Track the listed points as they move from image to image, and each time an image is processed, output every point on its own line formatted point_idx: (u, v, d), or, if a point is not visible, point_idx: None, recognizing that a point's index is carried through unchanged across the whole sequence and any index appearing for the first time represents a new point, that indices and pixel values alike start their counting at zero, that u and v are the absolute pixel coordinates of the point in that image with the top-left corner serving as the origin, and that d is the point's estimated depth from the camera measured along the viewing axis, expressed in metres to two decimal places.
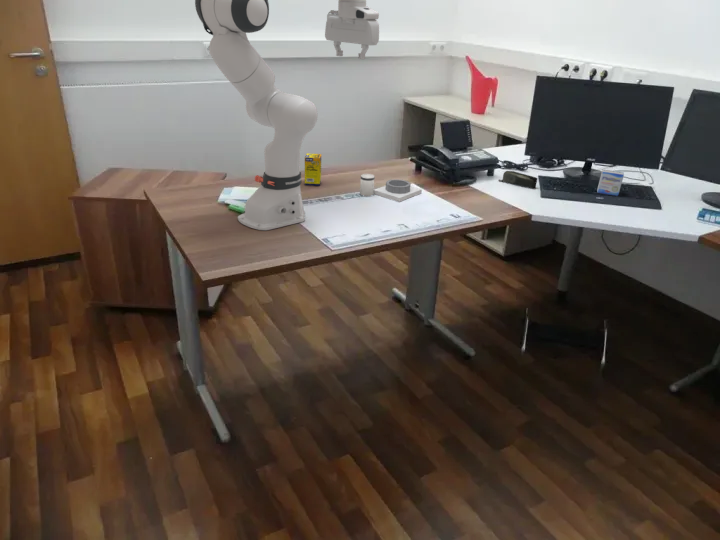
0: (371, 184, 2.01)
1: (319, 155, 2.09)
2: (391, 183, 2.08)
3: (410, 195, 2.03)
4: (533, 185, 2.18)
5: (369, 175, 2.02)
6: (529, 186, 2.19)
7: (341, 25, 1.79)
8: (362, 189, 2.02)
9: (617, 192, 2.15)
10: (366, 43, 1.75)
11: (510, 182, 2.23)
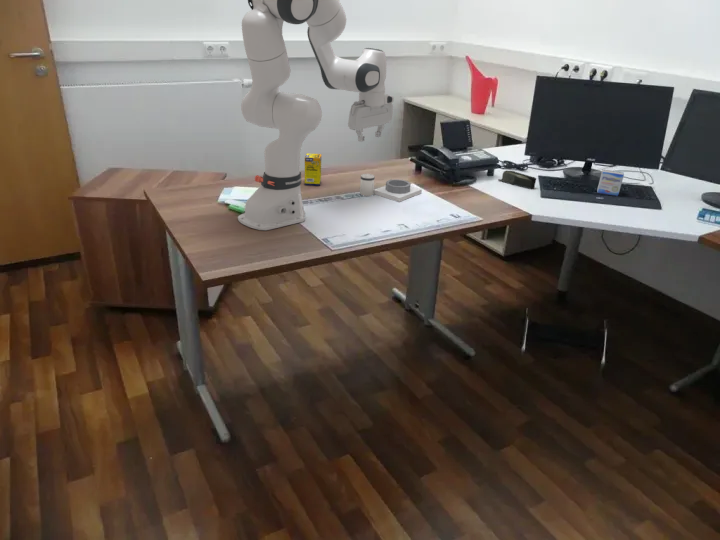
0: (371, 184, 2.01)
1: (319, 155, 2.09)
2: (391, 183, 2.08)
3: (410, 195, 2.03)
4: (531, 185, 2.18)
5: (369, 175, 2.02)
6: (528, 186, 2.18)
7: (369, 113, 1.88)
8: (362, 189, 2.02)
9: (617, 192, 2.15)
10: (387, 122, 1.97)
11: (509, 182, 2.23)
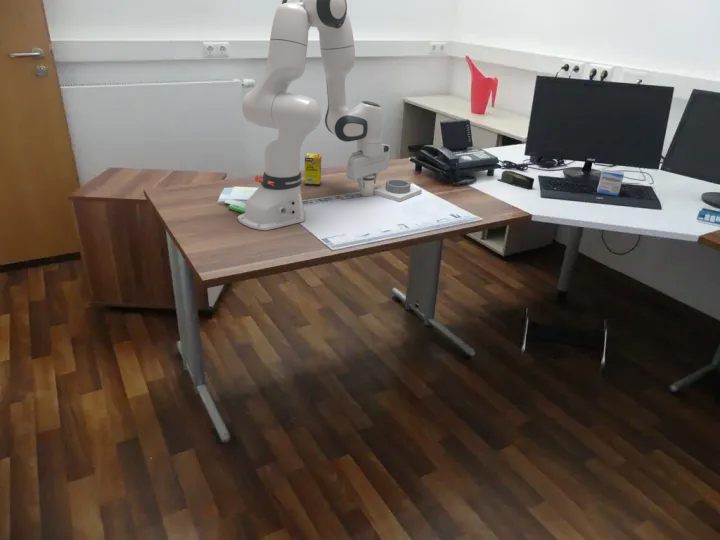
0: (371, 184, 2.01)
1: (319, 155, 2.09)
2: (391, 183, 2.08)
3: (410, 195, 2.03)
4: (529, 186, 2.17)
5: (369, 175, 2.02)
6: (525, 186, 2.18)
7: (366, 162, 1.96)
8: (362, 189, 2.02)
9: (617, 192, 2.15)
10: (384, 169, 2.05)
11: (508, 182, 2.23)
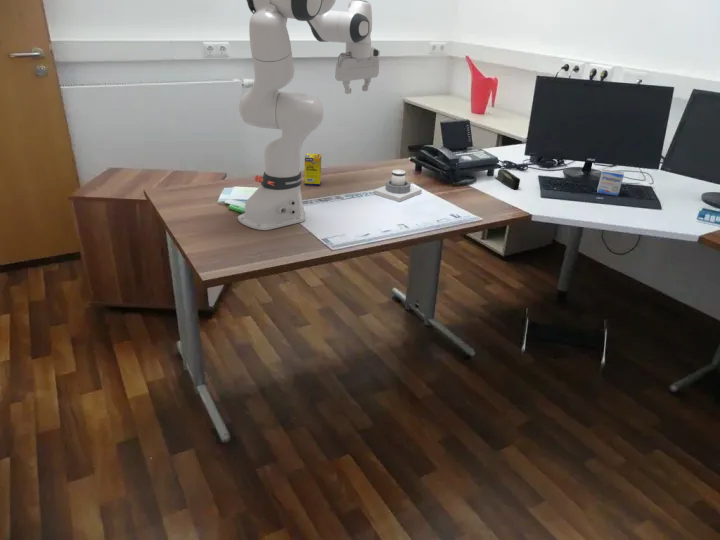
0: (402, 180, 2.02)
1: (319, 155, 2.09)
2: None
3: (410, 195, 2.03)
4: (514, 185, 2.16)
5: (400, 171, 2.03)
6: (511, 186, 2.18)
7: (355, 65, 1.93)
8: (393, 185, 2.03)
9: (617, 192, 2.15)
10: (374, 76, 2.02)
11: (500, 180, 2.24)
